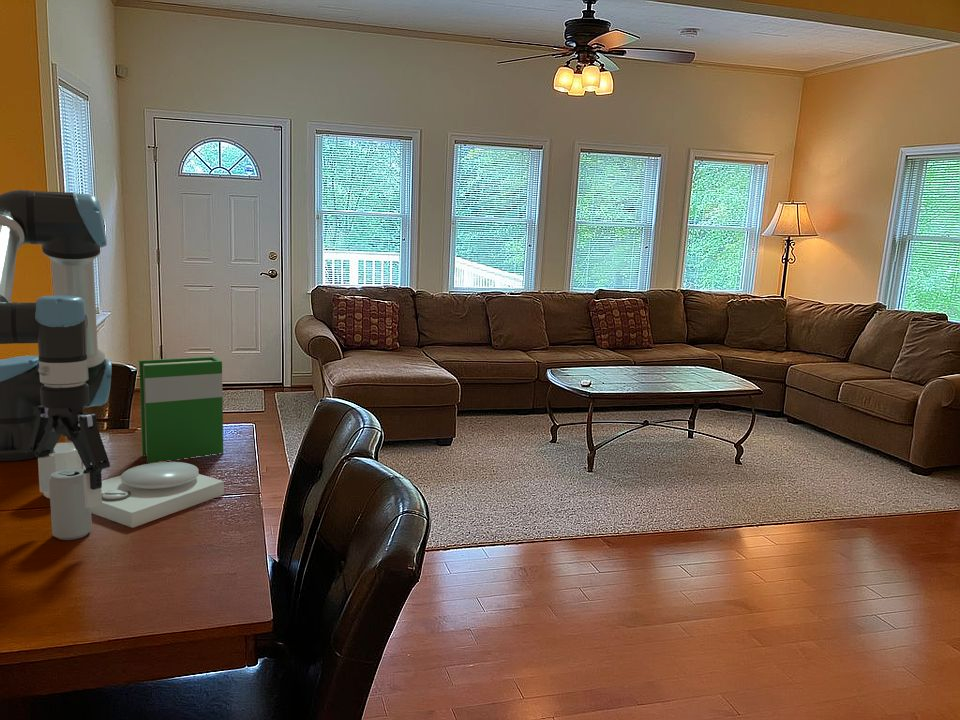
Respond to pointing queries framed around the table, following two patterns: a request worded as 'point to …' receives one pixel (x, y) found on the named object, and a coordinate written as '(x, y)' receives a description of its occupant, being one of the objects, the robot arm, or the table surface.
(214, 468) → the table surface
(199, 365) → the hardback book
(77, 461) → the white cup
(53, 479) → the beverage can
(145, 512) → the kitchen scale
